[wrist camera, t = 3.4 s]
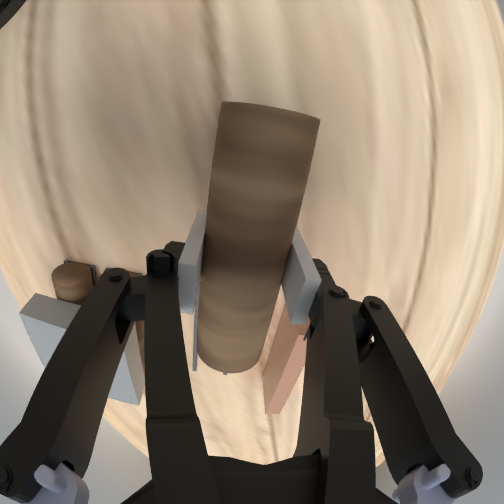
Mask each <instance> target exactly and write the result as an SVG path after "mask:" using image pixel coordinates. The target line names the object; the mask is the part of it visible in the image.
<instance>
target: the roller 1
mask: <svg viewBox="0 0 504 504" xmlns="http://www.w3.org/2000/svg"><path fill="white" fill-rule="evenodd" d="M52 280H53V284H54V288H55V292H56V296H57V299H58V300H62V301H66V302H69V303H73V304H77V305H82V304H83V302H84V300H85V299H86V297H87V296H88V294H89V293H90V291H91V290H92V288H93V283H92V277H91V271H90V267H89V266H88V265H87V264H84V263H79V262H68V263H64V264H62V265H60V266H58V267H57V268H56V269H55V270H54V271H53V273H52Z"/></svg>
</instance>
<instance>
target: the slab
mask: <svg viewBox="0 0 504 504" xmlns="http://www.w3.org/2000/svg"><path fill="white" fill-rule="evenodd" d="M80 307H81V305H77V304H73V303H69V302H66V301H62V300H58V299H55V298H51V297H48V296H44V295H41V294H37V293H35V294H34V296H33V297H32V298H31V299H30V300H29V301H28V303H27V304H26V305H25V306H24V307H23V309H22V310H21V311H20V312H19V314H20V316H21V319H22V321H23V324H24V326H25V328H26V331H27V333H28V335H29V337H30V339H31V342H32V344H33V346H34V348H35V350H36V352H37V354H38V356H39V358H40V360H41V362H42V364H43V365H44V367H45V368H46V366H47V364H48V362H49V360H50V358H51V356H52V354H53V353H54V351H55V349H56V347H57V345H58V343H59V342H60V340H61V338H62V336H63V335H64V333H65V331H66V330H67V328H68V326H69V324H70V323H71V321H72V320H73V318H74V316H75V315H76V313H77V311H78V310H79V308H80ZM144 386H145V377H144V372H143V367H142V362H141V356H140V351H139V345H138V339H137V332H136V326H135V323H134V326H133V328H132V331H131V333H130V336H129V339H128V341H127V344H126V346H125V349H124V352H123V355H122V357H121V360H120V363H119V366H118V368H117V371H116V374H115V377H114V380H113V383H112V386H111V389H110V392H109V395H108V398H111V399H115V400H118V401H122V402H126V403H130V404H134V405H138V406H139V405H140V401H141V397H142V394H143V390H144Z"/></svg>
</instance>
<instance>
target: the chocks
mask: <svg viewBox="0 0 504 504" xmlns="http://www.w3.org/2000/svg"><path fill="white" fill-rule="evenodd" d="M64 263H68V261H67V260H65V261H64ZM109 269H110V268H106V269H105V271H107V270H109ZM90 271H91V277H92V283H93V287H94V285H95V284H96V281H97V280H96V274H95V267H94V265H91V266H90ZM137 276H138V277H140V276H142V274H140V273H138V274H137ZM199 293H200V282H199V287H198V292H197V297H196V302H195V320H194V344H193V371H196V366H197V348H196V345H197V325H198V308H199ZM143 322H144V324H145V320H143ZM223 374H224V375H227V373H225V372H223Z"/></svg>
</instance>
